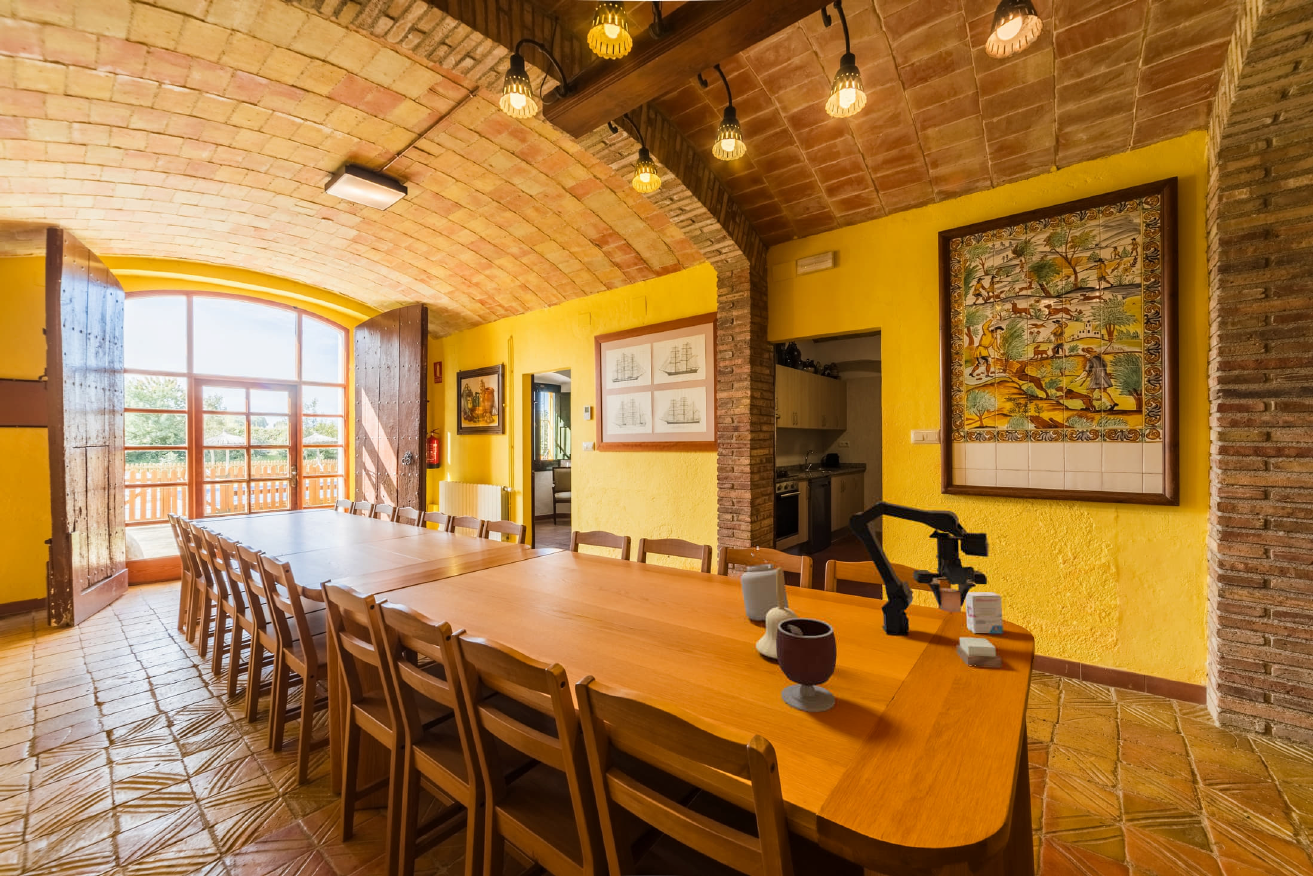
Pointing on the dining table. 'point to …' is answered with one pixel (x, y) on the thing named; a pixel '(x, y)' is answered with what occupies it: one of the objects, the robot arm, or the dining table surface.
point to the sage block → (977, 647)
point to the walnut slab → (979, 659)
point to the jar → (760, 591)
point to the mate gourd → (806, 662)
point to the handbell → (775, 619)
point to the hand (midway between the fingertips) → (950, 605)
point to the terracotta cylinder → (950, 600)
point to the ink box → (984, 612)
